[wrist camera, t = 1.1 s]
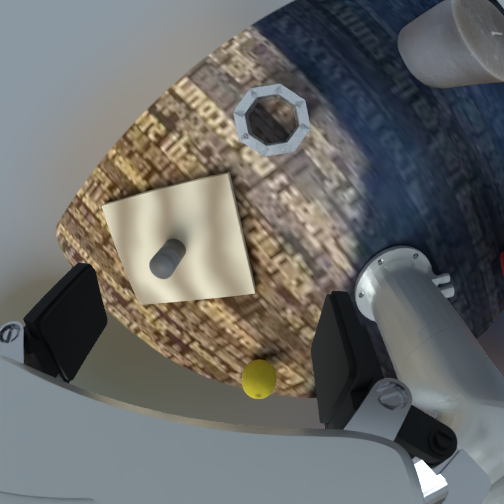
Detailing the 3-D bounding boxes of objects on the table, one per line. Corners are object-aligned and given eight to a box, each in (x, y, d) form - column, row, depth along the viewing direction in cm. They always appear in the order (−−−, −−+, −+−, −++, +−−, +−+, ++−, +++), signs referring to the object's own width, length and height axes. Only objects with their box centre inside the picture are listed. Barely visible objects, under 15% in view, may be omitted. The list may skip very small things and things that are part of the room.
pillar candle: (460, 48, 20) (530, 31, 7) (449, 102, 24) (528, 103, 11) (402, 11, 20) (459, -32, 6) (388, 65, 24) (455, 35, 10)
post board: (229, 171, 32) (219, 182, 26) (255, 287, 38) (252, 316, 32) (107, 202, 34) (80, 218, 28) (143, 299, 41) (126, 324, 35)
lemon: (238, 354, 44) (232, 391, 37) (269, 346, 43) (267, 384, 36) (252, 373, 46) (248, 409, 39) (281, 366, 45) (281, 403, 38)
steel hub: (297, 88, 27) (301, 80, 22) (308, 145, 30) (314, 149, 25) (235, 98, 28) (229, 93, 23) (248, 155, 31) (243, 160, 26)
